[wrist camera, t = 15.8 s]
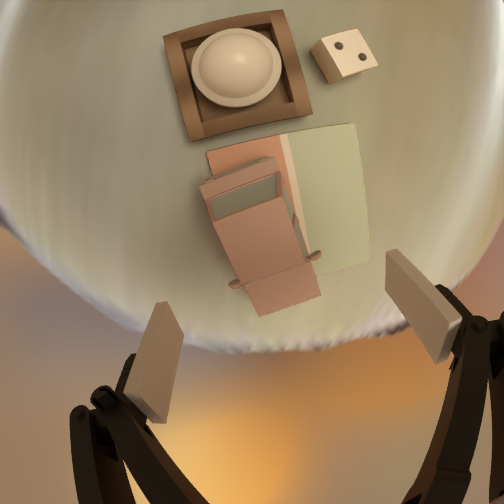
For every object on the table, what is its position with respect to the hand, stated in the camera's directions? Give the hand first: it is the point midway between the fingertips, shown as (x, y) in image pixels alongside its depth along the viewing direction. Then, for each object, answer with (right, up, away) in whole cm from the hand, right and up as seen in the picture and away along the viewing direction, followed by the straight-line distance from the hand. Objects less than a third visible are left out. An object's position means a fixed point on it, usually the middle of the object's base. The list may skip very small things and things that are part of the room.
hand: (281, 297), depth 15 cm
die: (+8, +23, +8) cm, 26 cm away
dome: (-3, +20, +8) cm, 22 cm away
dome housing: (-3, +21, +8) cm, 23 cm away
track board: (+3, +7, +15) cm, 17 cm away
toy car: (0, +5, +15) cm, 16 cm away
